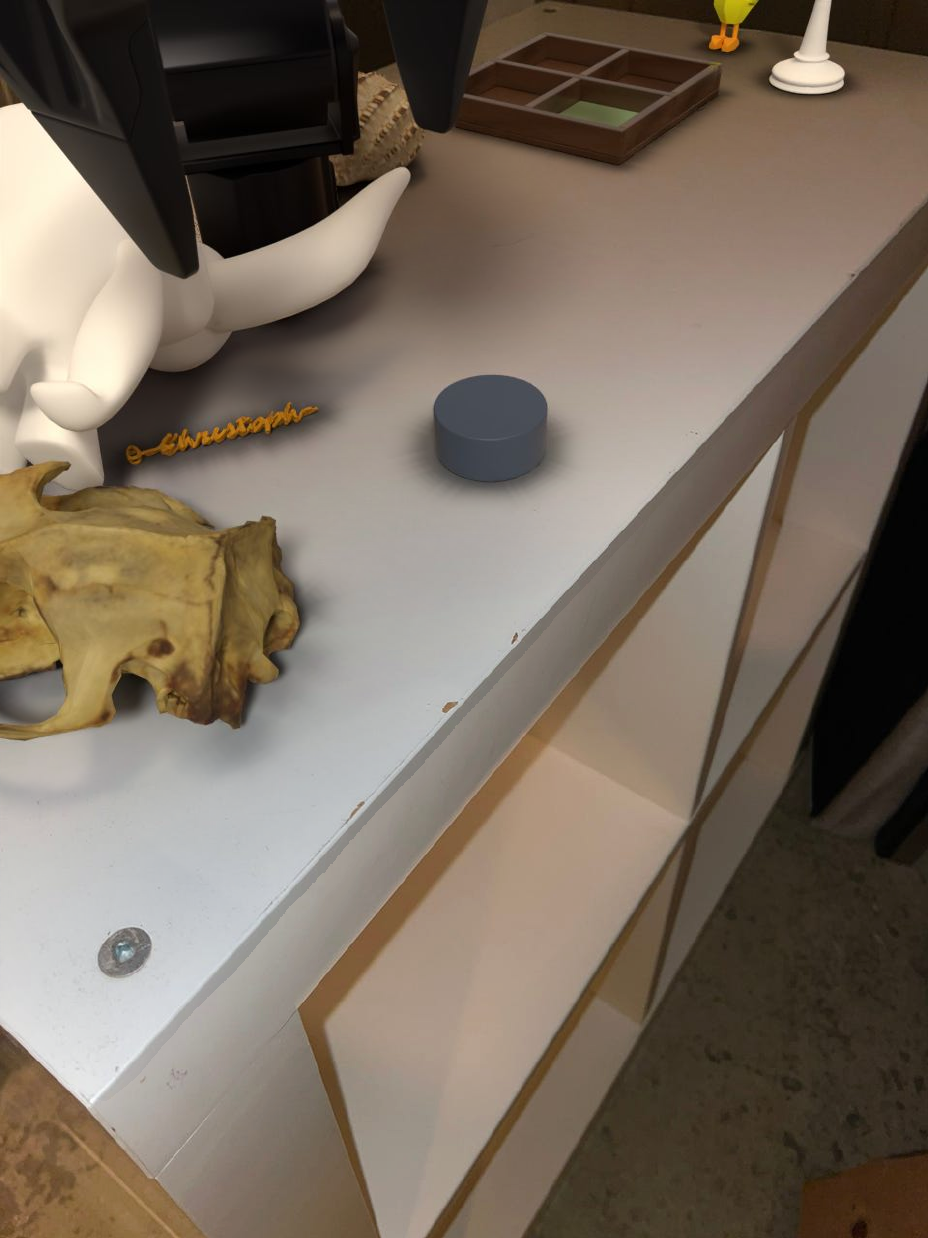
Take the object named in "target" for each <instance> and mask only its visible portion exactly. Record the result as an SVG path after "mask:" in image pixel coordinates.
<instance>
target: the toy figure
mask: <svg viewBox="0 0 928 1238" xmlns="http://www.w3.org/2000/svg"><path fill="white" fill-rule="evenodd" d="M713 1H714V2H713V7H714V9H715V12H716V14H717V17H718V19H719V21H720V22H721V26H720V31H719V32H720V33H719V35H718V34H714V35H712V36H711V40H710V42H709V44H708V49H710V50H719V49H721V52H724V53H725V52H726V53H729V52H732V51H735V50H736V49H737V48H738V47H739V45H740V40H739V38H738V34H739V27H740V24H742V23H744V20H745V19H746V18H747V16H748V15H749V14H750V12H751V11H752V9H754V7H755V6H756V5H757V4H758V2H759V0H713ZM727 25H733V28H732V34H731V37H728V36H726V31H727V27H728V26H727Z"/></svg>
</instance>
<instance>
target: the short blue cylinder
mask: <svg viewBox="0 0 928 1238" xmlns="http://www.w3.org/2000/svg"><path fill="white" fill-rule="evenodd" d="M548 408H549V407H548V402H547V399H546V397H545V395H544V394H543V393H542V391H541V390H540V389H539V388H538V387H537V386H535V385H533V384H532V383H531V382H529V381H526V380H523V379H521V378H518V377H515V376H511V375H506V374H505V375H504V374H479V375H473V376H468V377H465V378H462V379H459V380H456V381H454V382H453V383H451V384H449V385H447V386H446V387H445V388H444V389H443V390H441V391H440V392H439V394H437V396H436V398H435V400H434V403H433V408H432V409H433V410H432V412H433V425H434V442H435V452H436V456H437V458H438V460H439V462H440V463H441V464H442V465H443V467H444V468H446V470H448V471H450V472H451V473H452V474H454V475H456V476H459V477H461V478H464V479H468V480H471V481H478V482H488V483H489V482H504V481H508V480H512V479H515V478H519V477H521V476H523V475H526V474H527V473H530V472H531V471H532V470H534V469H535V468H536V467H537V466H538V465H539V464H540V463H541V462H542V461H543V458H544V457H545V454H546V450H547V433H548V410H549V409H548Z"/></svg>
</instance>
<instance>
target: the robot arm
mask: <svg viewBox="0 0 928 1238" xmlns="http://www.w3.org/2000/svg"><path fill="white" fill-rule="evenodd" d="M488 3H489V0H381V4H382V7H383V12H384V16H385V21H386V25H387V30H388V33H389V38H390V42H391V46H392V50H393V55H394V59H395V63H396V67H397V70H398V73H399V76H400V80H401V83H402V87H403V90H405V93H406V96H407V99H408V103H409V106H410V109H411V112H412V115H413V119H414V121H415V123H416V125H417V126H418V127H420V128H421V129H425V131H428V132H434V133H437V134H443V135H444V134H446V133H448V132H450V131H452V130H453V129H454V128H455V125H456V123H457V119H458V115H459V111H460V108H461V104H462V100H463V96H464V92H465V88H466V85H467V81H468V77H469V73H470V70H472V65H473V61H474V58H475V53H476V49H477V46H478V42H479V38H480V35H481V30H482V27H483V22H484V20H485V19H484V18H485V15H486V11H487V7H488ZM359 67H360V43H359V38H358V36H357V35H356V34H355V33H354V32H353V31H352V30H350V29H349V28H348V27H347V23H346V20H345V17H344V16H343V15H342V10H341V7H340V4H339V1H338V0H0V77H1V78H2V80H3V81H4V82H5V83H6V84H7V86H8V87H9V88H10V90H12V92H13V93H14V94H15V96H17V98H18V99H19V100H20V102H21V103H23V104H24V105H25V106H26V108H27V109H28V110H31V113H32V115H33V116H34V117H35V118H36V120H37V121H38V122H39V123H40V125H41V126H42V127H43V128H44V130H45V131H46V132H47V133H48V135H49V136H50V137H51V138H52V140H53V141H54V142H55V143H56V145H57V146H58V147H59V148H60V150H61V151H62V152H63V153H64V155H65V156H66V157H67V159H68V160H69V161H70V162H71V164H72V165H73V166H74V167H75V169H76V170H77V171H78V172H79V174H80V175H81V176H82V177H83V179H84V180H85V181H86V182H87V184H88V185H89V186H90V187H91V189H92V190H93V191H94V192H95V194H96V195H97V196H98V197H99V199H100V200H101V201H102V202H103V204H104V205H105V206H106V207H107V209H108V210H109V211H110V212H111V214H112V215H113V216H114V217H115V219H116V220H117V221H118V222H119V224H120V225H121V226H122V227H123V229H124V230H125V231H126V232H127V234H128V235H129V236H130V237H131V239H132V240H133V241H134V242H135V244H136V245H137V246H138V247H139V249H140V250H141V251H142V252H143V254H144V255H145V256H146V257H147V259H148V260H149V261H150V262H151V264H152V265H153V266H155V267H156V268H157V269H158V270H160V271H162V272H165V273H168V274H170V275H173V276H175V277H178V278H181V279H187V278H189V277H191V276H192V275H194V274H196V273H197V272H198V270H199V258H198V249H197V240H196V235H197V231H196V224H195V219H196V222H197V227H198V231H199V235H200V239H201V243H203V244H205V245H207V246H209V247H210V248H212V249H213V250H215V251H216V252H217V253H219V254H220V255H221V256H222V257H223V258H224V259H227V258H231V257H235V256H238V255H242V254H245V253H248V252H251V251H254V250H257V249H260V248H263V247H266V246H268V245H271V244H274V243H276V242H279V241H281V240H284V239H286V238H288V237H291V236H293V235H295V234H298V233H300V232H302V231H304V230H306V229H308V228H310V227H312V226H314V225H315V224H317V223H319V222H320V221H322V220H323V219H325V218H327V217H328V216H330V215H331V214H332V213H334V212H335V211H337V210H338V209H339V208H340V203H339V194H338V193H339V192H338V186H337V185H336V177H335V169H334V164H333V163H332V162H331V161H330V160H329V156H331V155H338V154H342V156H346V155H353V154H354V142H355V141H357V140H358V139H360V138H361V134H360V125H359V115H358V101H357V93H358V71H359V70H360V69H359ZM174 123H183V125H174Z"/></svg>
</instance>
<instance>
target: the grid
mask: <svg viewBox="0 0 928 1238" xmlns="http://www.w3.org/2000/svg"><path fill="white" fill-rule="evenodd" d="M723 65H724V64H723V63H722V62H717V61H711V60H706V59H702V58H701V59H700V58H695V57H689V56H684V55H677V54H671V53H666V52H661V51H655V50H649V49H645V48H639V47H633V46H626V45H620V44H615V43H609V42H606V41H605V42H604V41H599V40H592V39H586V38H582V37H575V36H570V35H565V34H559V33H553V32H547V31H544V32H543V33H540V34H538V35H536V36H534V37H533V38H531V39H529V40H527V41H525V42H523V43H521V44H519V45H517V46H515V47H513V48H511V49H508V50H507V51H506V52H503V53H501V54H499V55H497V56H496V57H494V58H492V59H490V60H488V61H486V62H484V63H482V64H480V65H478V66H476V67H474V68H471V69H470V73H469V77H468V81H467V85H466V88H465V92H464V96H463V100H462V104H461V108H460V111H459V115H458V119H457V123H456V125H455V127H457V128H460V129H465V130H467V131H468V130H469V131H471V132H477V133H482V134H486V135H489V136H494V137H498V138H502V139H506V140H511V141H516V142H520V143H524V144H529V145H533V146H536V147H540V148H541V147H542V148H545V149H549V150H554V151H557V152H563V153H566V154H570V155H575V156H580V157H584V158H588V159H592V160H597V161H600V162H605V163H609V164H613V165H617V166H619V165H621V164H623V163H624V162H626V161H627V160H628V159H630V158H631V157H632V156H633V155H635V154H636V153H638V152H640V151H641V150H642V149H643V148H645V147H646V146H648V145H649V144H650V143H652V142H653V141H655V140H656V139H658V138H660V136H661V135H663V134H665V133H666V132H668V131H669V130H670V129H672V128H674V126H676V125H677V124H679V123H680V122H681V121H683V120H684V119H686V118H687V117H689V116H691V114H693V113H694V112H696V111H697V110H698V109H700V108H701V107H702V106H704V105H705V104H707V103H708V102H710V101H711V100H712V99H714V98H715V97H717V96H718V95H719V93H720V87H721V86H720V85H721V80H722V79H721V78H722V72H723ZM455 127H454V128H455Z"/></svg>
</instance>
